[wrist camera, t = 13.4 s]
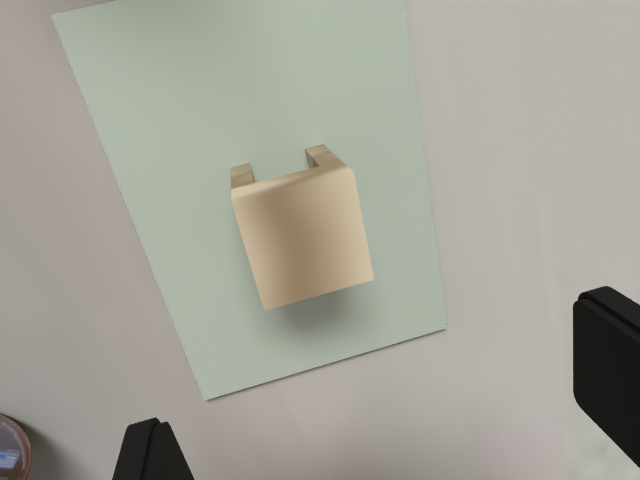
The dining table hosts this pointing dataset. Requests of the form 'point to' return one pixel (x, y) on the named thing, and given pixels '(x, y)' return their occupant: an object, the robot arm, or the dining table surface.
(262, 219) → the stool
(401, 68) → the mat
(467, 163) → the dining table surface
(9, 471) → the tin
